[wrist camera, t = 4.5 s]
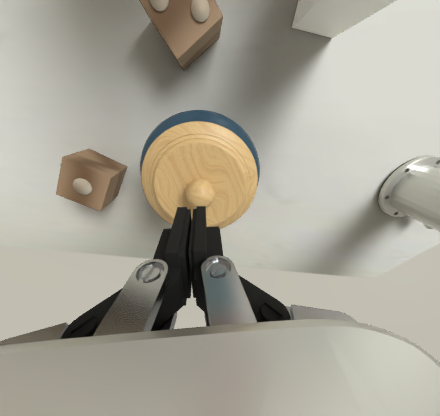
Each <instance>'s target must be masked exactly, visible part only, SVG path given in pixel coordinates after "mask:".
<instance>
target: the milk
mask: <svg viewBox="0 0 440 416" xmlns="http://www.w3.org/2000/svg"><path fill="white" fill-rule="evenodd" d="M395 1H396V0H298V4H297V8H296V12H295V16H294V20H293V24H292V28H295V29H299V30H303V31H307V32H311V33H314V34H318V35H322V36H326V37H330V38H333V37H335V36H337V35H339V34H340V33H342V32H344V31H345V30H347V29H349V28H350V27H352V26H354V25H356V24H357V23H359V22H361V21H362V20H364V19H366V18H367V17H369V16H371V15H373V14H374V13H376V12H378V11H379V10H381V9H383V8H384V7H386V6H388V5H389V4H391V3H393V2H395Z"/></svg>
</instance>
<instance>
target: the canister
mask: <svg viewBox="0 0 440 416" xmlns="http://www.w3.org/2000/svg"><path fill="white" fill-rule="evenodd" d="M140 171H141V178H142V186H143V190H144V193H145V196H146V198H147V200H148V202H149V203H150V205H151V206H152V208H153V209H154V210H155V211H156V213H157V214H158V215H159V216H161V217H162V218H163V219H164V220H166V221H167V222H169V223H170V224H172V225H173V221H174V218H175V214H176V210H177V207H187V209H191V218H192V215H193V209H196V208H197V206H206V224H207V227H216V226H219V228H220V229H221V228H223V227H226V226H228V225H230V224H231V223H233V222H235V221H236V220H237V219H239V218H240V217H241V216H242V215H243V214H244V213H245V212H246V210H247V209H248V208H249V206H250V204H251V203H252V201H253V198H254V196H255V193H256V189H257V185H258V181H259V175H260V165H259V158H258V154H257V151H256V148H255V146H254V144H253V142H252V140H251V139H250V137H249V136H248V134H247V133H246V132H245V131H244V130H243V129H242V128H241V127H240V126H239V125H238V124H237V123H235V122H234V121H233V120H231V119H229V118H227V117H225V116H223V115H221V114H218V113H215V112H211V111H204V110H192V111H185V112H182V113H178V114H176V115H173V116H171V117H169V118H168V119H166V120H165V121H163V122H162V123H161V124H159V125H158V126H157V127H156V128H155V129H154V130H153V132H152V133H151V134H150V136H149V137H148V139H147V141H146V143H145V145H144V148H143V151H142V155H141V161H140Z"/></svg>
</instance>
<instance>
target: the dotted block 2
mask: <svg viewBox="0 0 440 416" xmlns="http://www.w3.org/2000/svg"><path fill="white" fill-rule="evenodd" d="M139 1H140V2H141V4H142V6H143V7H144V9H145V11H146V12H147V14H148V16H149V17H150V19H151V21H152V22H153V24H154V25H155V27H156V29H157V30H158V32H159V33H160V35H161V36H162V38H163V39H164V41H165V43H166V44H167V46H168V47H169V49H170V50H171V52H172V53H173V55H174V57H175V58H176V60H177V61H178V63H179V64H180V66H181V67H182V69H183V70H185V69H186V68H187V67H188V66H189V65H190V64H191V63H192V62H193V61H195V60H196V59H197V58H198V57H199V56H200V55H201V54H202V53H203V52H204V51H205V50H206V49H208V48H209V47H210V46H211V45H212V44H213V43H214V42H215V41H216V40H217V39H218V38H219V35H220V30H221V24H222V18H223V15H222V13H221V11H220V9H219V7H218V5H217V3H216V1H215V0H139Z"/></svg>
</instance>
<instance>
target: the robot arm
mask: <svg viewBox="0 0 440 416" xmlns="http://www.w3.org/2000/svg"><path fill="white" fill-rule="evenodd" d="M378 201H379V206H380V208H381V210H382V211H383V212H385V213H386V214H388V215H390V216H394V217H404V216H410V217H412V218H414V219H416V220H418V221H420V222H422V223H423V224H424V226H425V227H426V228H428V229H436V230H438V231H440V157H436V156H423V157H418V158H416V159H413V160H411V161H409V162H407V163H405V164H404V165H402V166H401V167H399V168H398V169H397V170H396V171H394V172H393V173H392V174H391V175H390V176H389V178H388V179H387V180H386V182H385V183H384V185H383V186H382V188H381V191H380V194H379V199H378ZM191 284H192V289H193V297H194V298H196V303H197V306H199V307H200V308H201V309H202V310H203V311H204V313H205V321H206V327H196V328H184V329H174V325H175V321H176V318H177V311H178V310H179V309H180V308H181V307H182V306H184V305H186V300H187V298H190V296H191ZM0 416H440V362H438V361H437V360H436V359H435V358H434V357H432V356H431V355H430V354H429V353H427V352H426V351H425V350H423V349H422V348H421V347H419V346H418V345H416V344H415V343H413V342H411V341H409V340H408V339H406V338H404V337H401V336H399V335H397V334H395V333H392V332H390V331H387V330H385V329H381V328H378V327H375V326H371V325H368V324H364V323H359V322H357V321H356V320H355V319H353V318H352V317H350V316H349V315H347V314H345V313H342V312H338V311H332V310H324V309H318V308H311V307H304V306H297V305H291V307H286V306H284V305H283V304H282V303H281V302H280V301H278V300H277V299H275V298H273V297H272V296H270V295H269V294H267V293H266V292H264V291H263V290H261V289H260V288H258V287H256V286H255V285H253V284H252V283H250V282H249V281H247V280H245V279H244V278H242V277H240V276H239V275H238V273H237V271H236V268H235V266H234V264H233V262H232V261H231V260H230V259H229V258H227V257H225V256H223V251H222V243H221V236H220V228H219V226H216V227H207V224H206V206H197V208H196V209H193V215H192V218H191V209H187V207H177V210H176V214H175V218H174V221H173V225H172V228H171V229H164V230H163V232H162V235H161V238H160V241H159V244H158V246H157V249H156V252H155V255H154V258H153V259H151V260H148V261H145V262H144V263H141V264H140V265H139V266H138V267H136V269H135V270H134V272H133V273H132V274H131V276H130V277H129V279H128V281H127V282H126V284H125V285H124V287H123V288H122V289H121V290H119V291H118V292H116V293H115V294H113V295H111V296H110V297H108V298H107V299H105V300H104V301H102V302H101V303H99V304H98V305H96V306H95V307H93V308H92V309H90V310H89V311H87V312H86V313H84V314H82V315H81V316H79V317H78V318H77V319H76V320H74V321H73V322H72V323H71V324H70V325H68V324H67V323H62V324H59V325H55V326H52V327H48V328H45V329H41V330H38V331H34V332H30V333H27V334H23V335H19V336H16V337H12V338H9V339H5V340H3V341H0Z"/></svg>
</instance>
